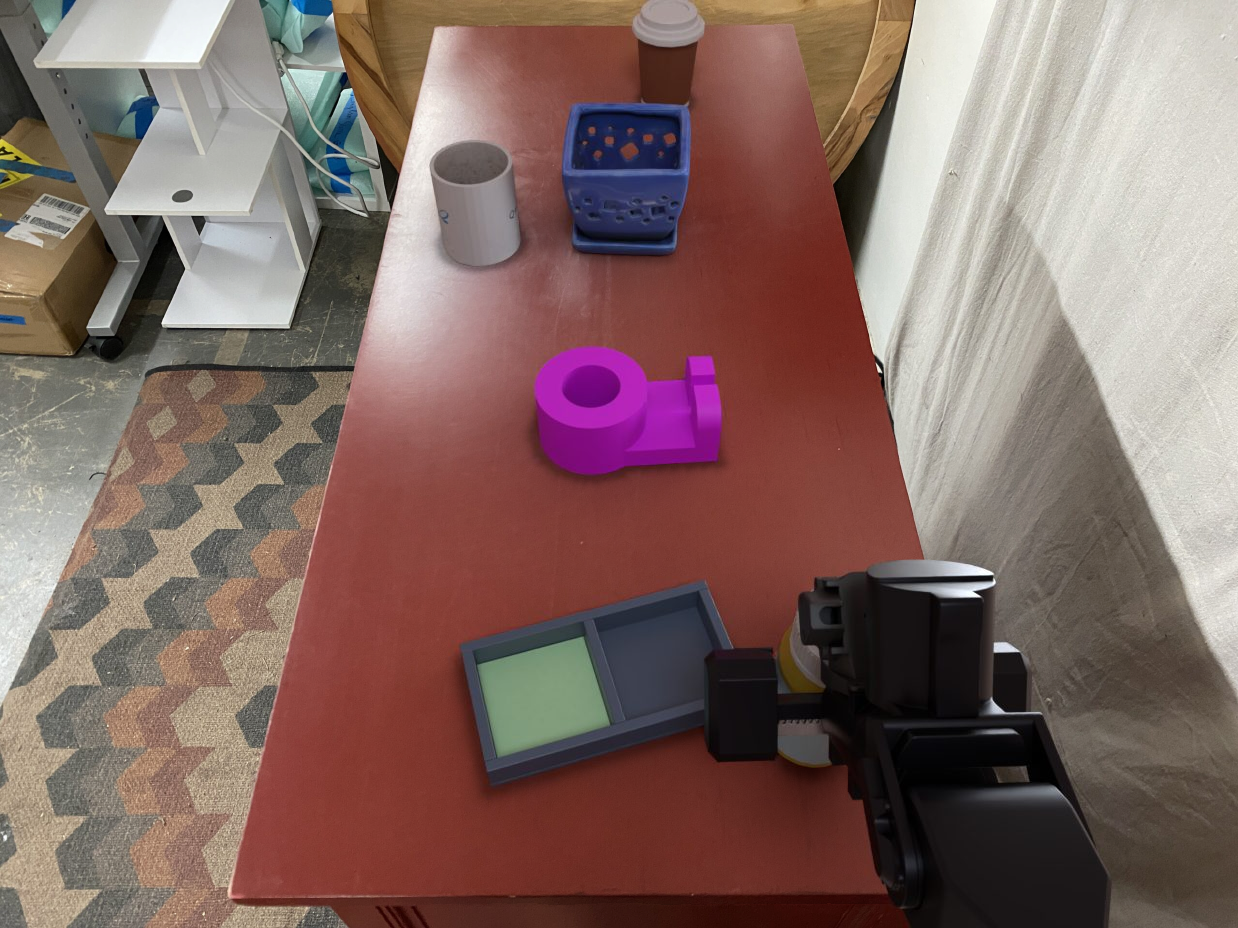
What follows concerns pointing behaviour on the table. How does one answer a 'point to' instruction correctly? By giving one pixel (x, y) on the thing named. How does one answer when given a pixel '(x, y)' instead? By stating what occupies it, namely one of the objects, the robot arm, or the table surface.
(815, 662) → the bottle
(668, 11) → the coffee cup
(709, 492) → the table surface
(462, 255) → the mug
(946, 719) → the robot arm
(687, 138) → the flower pot
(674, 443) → the tape dispenser
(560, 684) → the blue-grey divided tray
